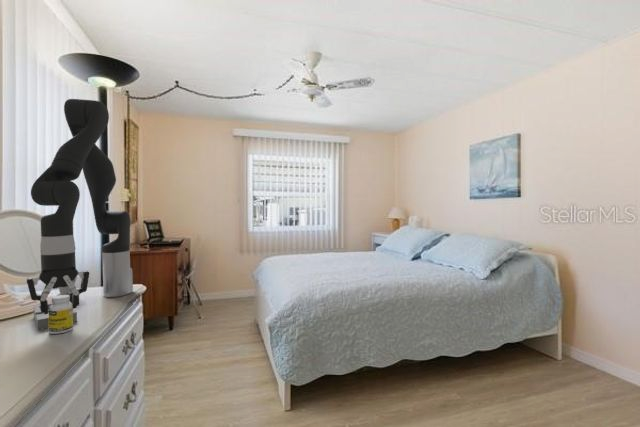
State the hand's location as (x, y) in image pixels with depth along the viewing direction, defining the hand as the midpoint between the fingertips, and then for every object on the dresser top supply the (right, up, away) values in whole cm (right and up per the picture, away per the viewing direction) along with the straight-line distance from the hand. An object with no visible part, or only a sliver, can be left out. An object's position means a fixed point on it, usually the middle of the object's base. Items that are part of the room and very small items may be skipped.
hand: (60, 310), depth 90 cm
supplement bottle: (0, -6, 0) cm, 6 cm away
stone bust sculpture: (-19, -5, +27) cm, 33 cm away
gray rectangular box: (-12, -6, +12) cm, 17 cm away
